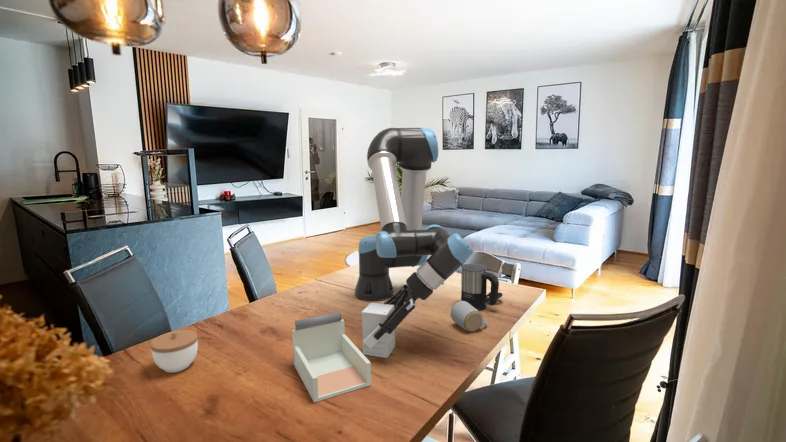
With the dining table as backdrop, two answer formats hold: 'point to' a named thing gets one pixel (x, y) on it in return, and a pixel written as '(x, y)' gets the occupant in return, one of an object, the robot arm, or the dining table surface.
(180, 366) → the lidded jar
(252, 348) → the dining table surface
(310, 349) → the tray
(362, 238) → the robot arm
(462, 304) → the ceramic mug
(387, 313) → the supplement box
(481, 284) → the milk frother
